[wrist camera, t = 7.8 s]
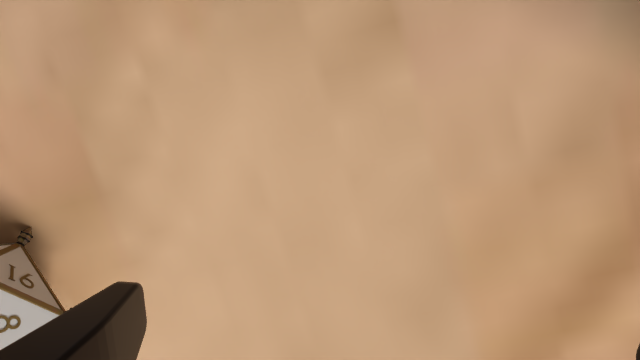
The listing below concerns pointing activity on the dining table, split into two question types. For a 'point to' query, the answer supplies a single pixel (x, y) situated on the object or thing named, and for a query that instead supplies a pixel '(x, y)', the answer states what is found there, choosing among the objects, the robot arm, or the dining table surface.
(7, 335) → the game die
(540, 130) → the dining table surface
